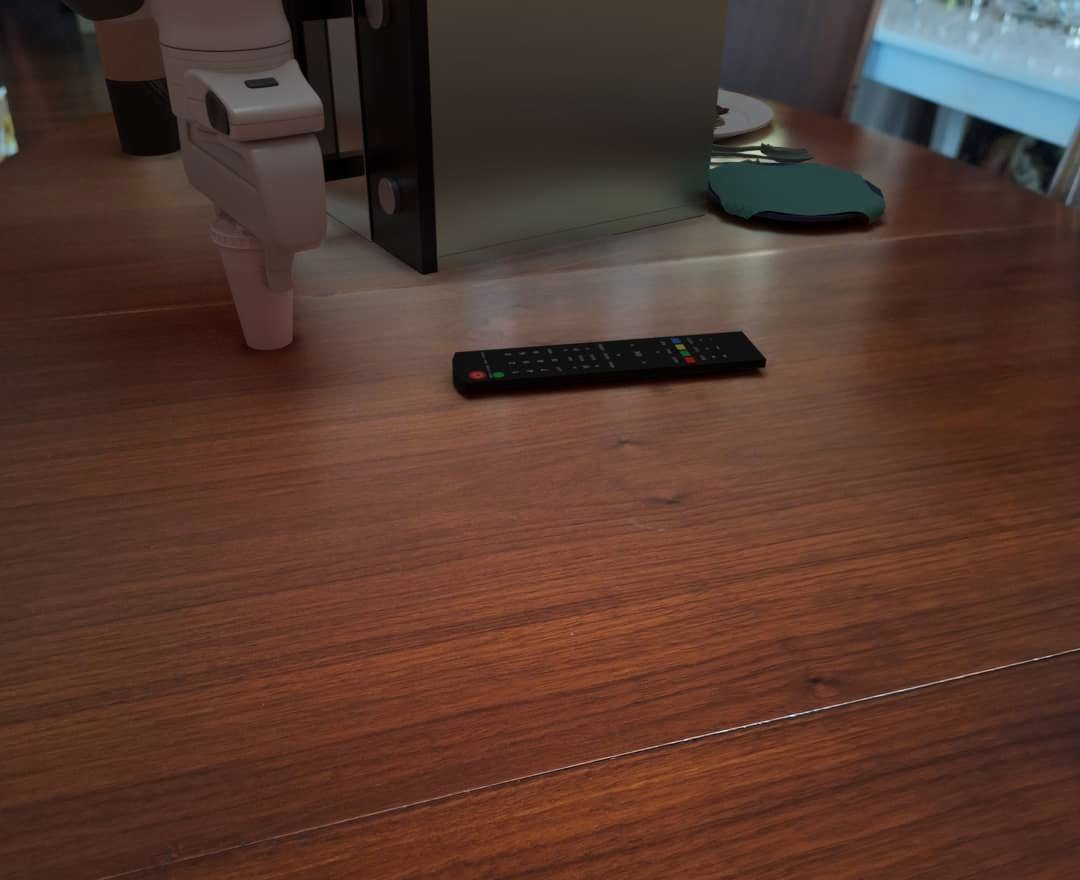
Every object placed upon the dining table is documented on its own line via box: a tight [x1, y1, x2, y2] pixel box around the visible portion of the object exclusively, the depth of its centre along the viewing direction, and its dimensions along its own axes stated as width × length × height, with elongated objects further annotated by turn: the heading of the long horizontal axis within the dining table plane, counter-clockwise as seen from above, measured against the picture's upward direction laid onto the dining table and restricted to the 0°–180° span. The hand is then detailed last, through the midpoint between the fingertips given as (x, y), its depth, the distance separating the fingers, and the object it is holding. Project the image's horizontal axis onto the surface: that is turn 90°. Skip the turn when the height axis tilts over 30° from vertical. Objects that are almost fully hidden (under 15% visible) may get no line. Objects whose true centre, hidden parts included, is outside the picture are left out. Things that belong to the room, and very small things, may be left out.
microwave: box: [356, 0, 729, 274], centre depth 111 cm, size 35×44×28 cm
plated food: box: [713, 89, 775, 141], centre depth 144 cm, size 30×30×3 cm
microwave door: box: [282, 0, 375, 242], centre depth 105 cm, size 7×34×28 cm, turn 34°
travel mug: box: [92, 18, 181, 157], centre depth 124 cm, size 8×8×20 cm
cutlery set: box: [707, 142, 887, 226], centre depth 119 cm, size 20×30×2 cm, turn 1°
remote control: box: [451, 330, 767, 393], centre depth 80 cm, size 5×24×1 cm, turn 102°
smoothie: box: [209, 214, 294, 351], centre depth 80 cm, size 6×6×14 cm
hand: (260, 273), depth 81 cm, fingers closed on smoothie, 6 cm apart
